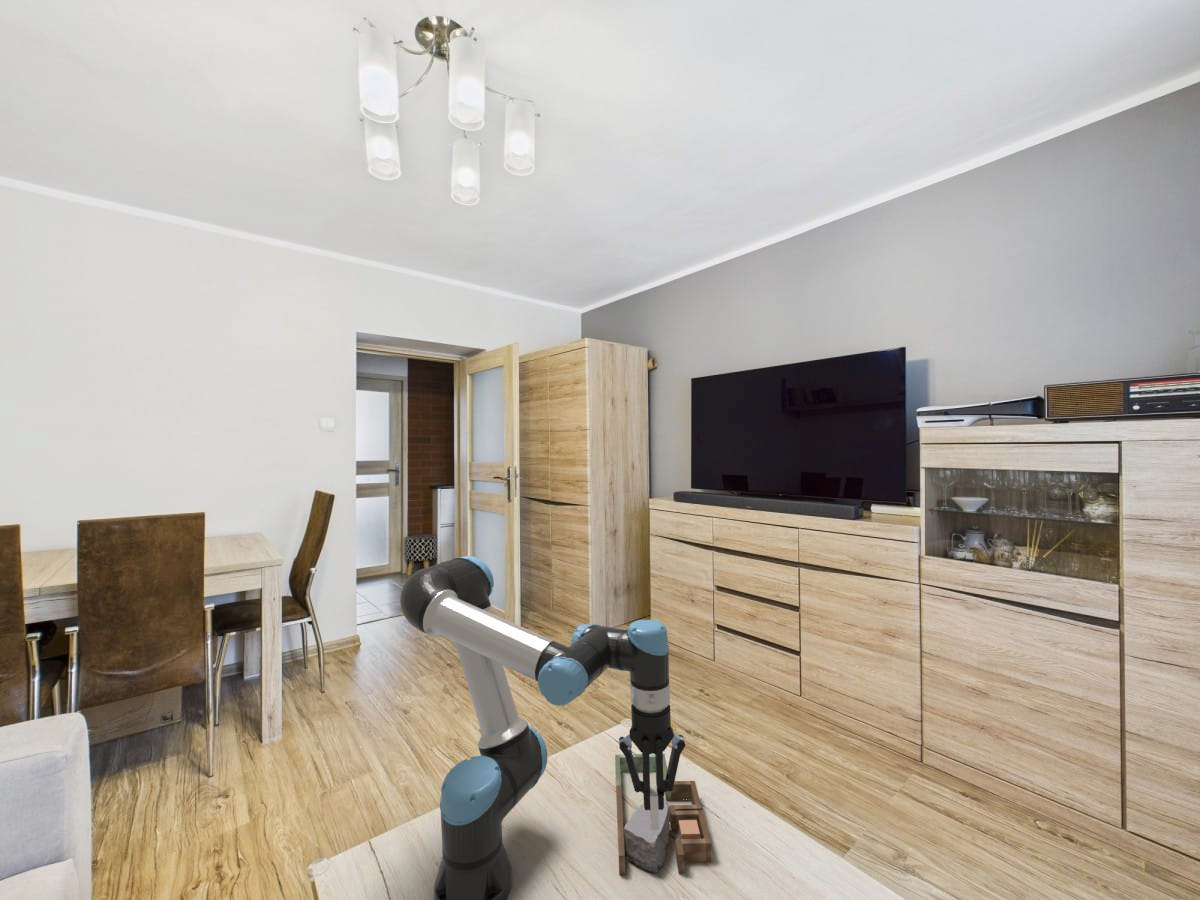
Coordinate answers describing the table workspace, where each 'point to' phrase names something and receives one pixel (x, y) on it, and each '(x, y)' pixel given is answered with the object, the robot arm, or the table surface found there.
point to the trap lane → (682, 790)
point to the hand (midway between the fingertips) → (654, 824)
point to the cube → (688, 829)
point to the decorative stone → (647, 838)
